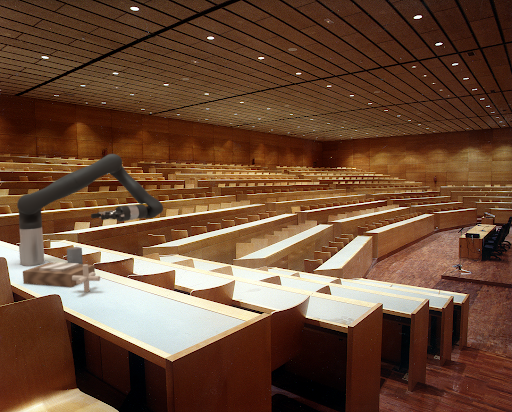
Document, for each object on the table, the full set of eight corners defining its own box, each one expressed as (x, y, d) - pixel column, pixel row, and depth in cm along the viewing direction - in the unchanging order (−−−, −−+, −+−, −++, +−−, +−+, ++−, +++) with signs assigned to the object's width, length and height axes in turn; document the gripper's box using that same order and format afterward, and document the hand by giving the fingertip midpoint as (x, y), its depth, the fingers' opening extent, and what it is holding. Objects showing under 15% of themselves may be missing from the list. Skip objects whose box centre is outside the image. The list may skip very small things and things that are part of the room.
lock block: (67, 270, 167) (66, 248, 166) (77, 268, 171) (76, 246, 170) (73, 272, 164) (71, 249, 163) (83, 269, 168) (81, 248, 167)
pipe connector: (106, 287, 143) (105, 261, 142) (92, 296, 133) (91, 268, 132) (81, 286, 144) (80, 261, 143) (66, 295, 134) (64, 268, 133)
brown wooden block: (23, 283, 149) (22, 268, 148) (50, 273, 162) (49, 260, 162) (71, 287, 144) (70, 271, 143) (94, 276, 157) (94, 262, 157)
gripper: (118, 204, 191) (87, 207, 178) (135, 206, 182) (104, 209, 169) (119, 219, 191) (88, 223, 179) (136, 221, 183) (105, 226, 170)
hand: (96, 216), depth 174 cm, fingers open, 8 cm apart
